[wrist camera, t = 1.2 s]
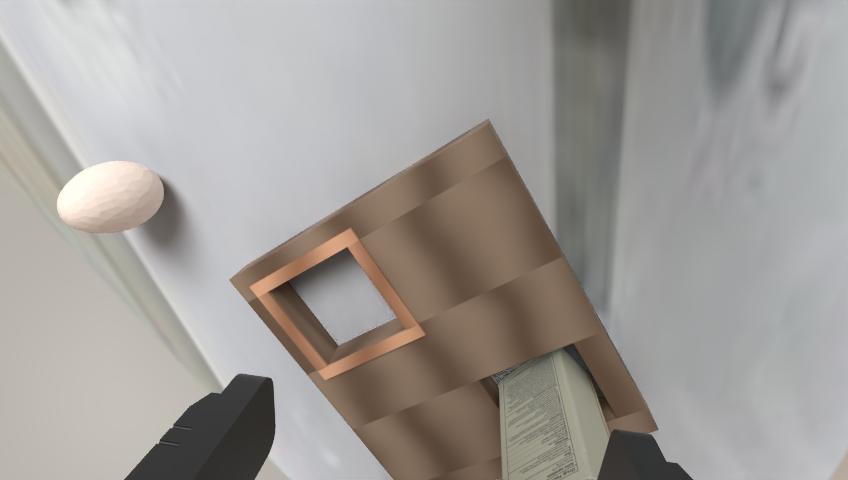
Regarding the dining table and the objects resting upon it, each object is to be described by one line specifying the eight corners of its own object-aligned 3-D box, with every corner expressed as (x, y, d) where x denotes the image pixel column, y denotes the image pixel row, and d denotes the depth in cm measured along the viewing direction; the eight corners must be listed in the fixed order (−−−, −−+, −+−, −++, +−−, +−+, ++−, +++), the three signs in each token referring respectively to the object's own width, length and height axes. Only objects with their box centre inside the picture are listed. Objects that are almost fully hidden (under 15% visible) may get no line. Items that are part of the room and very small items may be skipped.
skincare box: (531, 411, 36) (550, 567, 25) (495, 378, 35) (499, 524, 24) (593, 374, 34) (645, 527, 23) (557, 338, 33) (592, 478, 22)
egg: (132, 210, 34) (44, 247, 27) (117, 151, 32) (18, 175, 25) (187, 214, 33) (110, 253, 27) (175, 154, 32) (89, 179, 25)
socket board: (488, 119, 28) (488, 124, 25) (647, 405, 34) (659, 431, 32) (246, 265, 34) (227, 281, 32) (418, 479, 41) (413, 506, 39)
